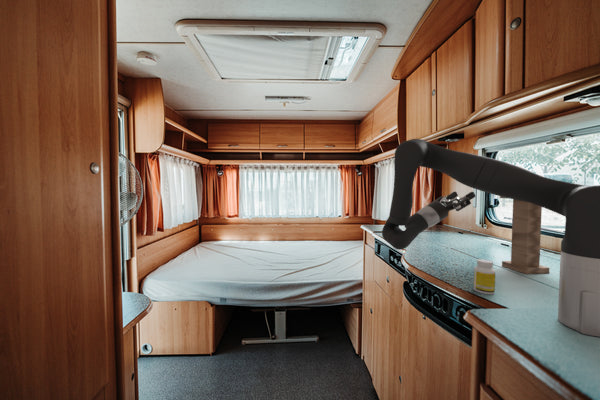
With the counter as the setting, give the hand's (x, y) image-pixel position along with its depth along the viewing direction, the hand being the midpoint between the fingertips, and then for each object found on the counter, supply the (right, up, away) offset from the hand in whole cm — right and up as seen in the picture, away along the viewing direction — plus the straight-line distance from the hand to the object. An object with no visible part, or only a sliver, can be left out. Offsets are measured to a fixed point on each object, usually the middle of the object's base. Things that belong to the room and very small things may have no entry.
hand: (464, 193), depth 94 cm
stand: (+28, -31, +5) cm, 42 cm away
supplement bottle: (-6, -32, -17) cm, 37 cm away
